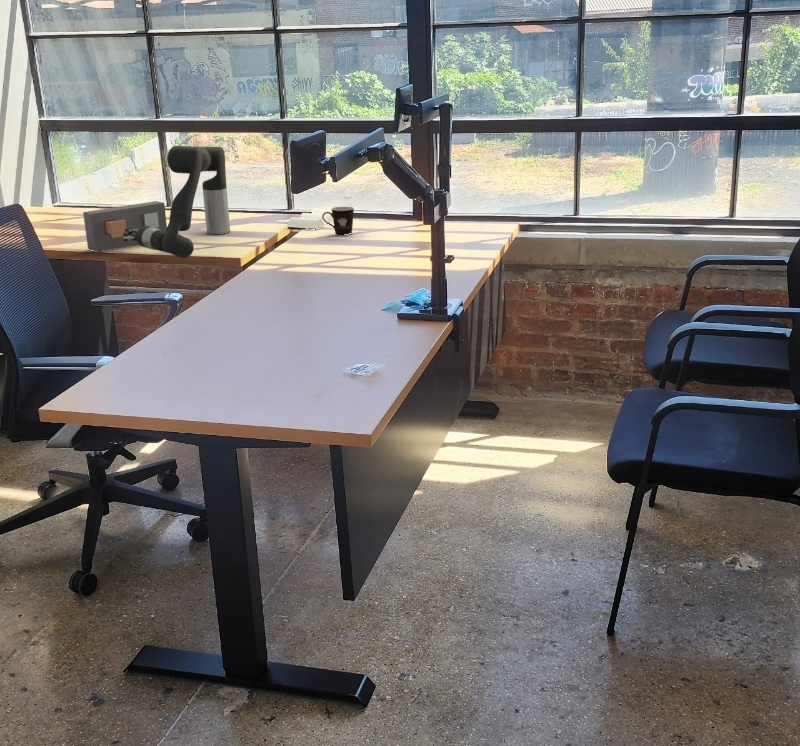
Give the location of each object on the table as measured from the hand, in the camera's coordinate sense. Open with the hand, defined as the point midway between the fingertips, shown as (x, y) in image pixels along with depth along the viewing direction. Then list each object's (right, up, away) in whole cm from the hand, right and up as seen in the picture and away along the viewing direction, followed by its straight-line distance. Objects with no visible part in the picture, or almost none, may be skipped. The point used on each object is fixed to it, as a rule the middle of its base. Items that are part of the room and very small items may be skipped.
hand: (127, 231), depth 329 cm
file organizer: (+65, +11, +54) cm, 85 cm away
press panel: (-5, -2, +18) cm, 19 cm away
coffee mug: (+75, +3, +30) cm, 80 cm away
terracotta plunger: (-7, 0, +8) cm, 11 cm away
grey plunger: (+1, +5, +22) cm, 22 cm away
